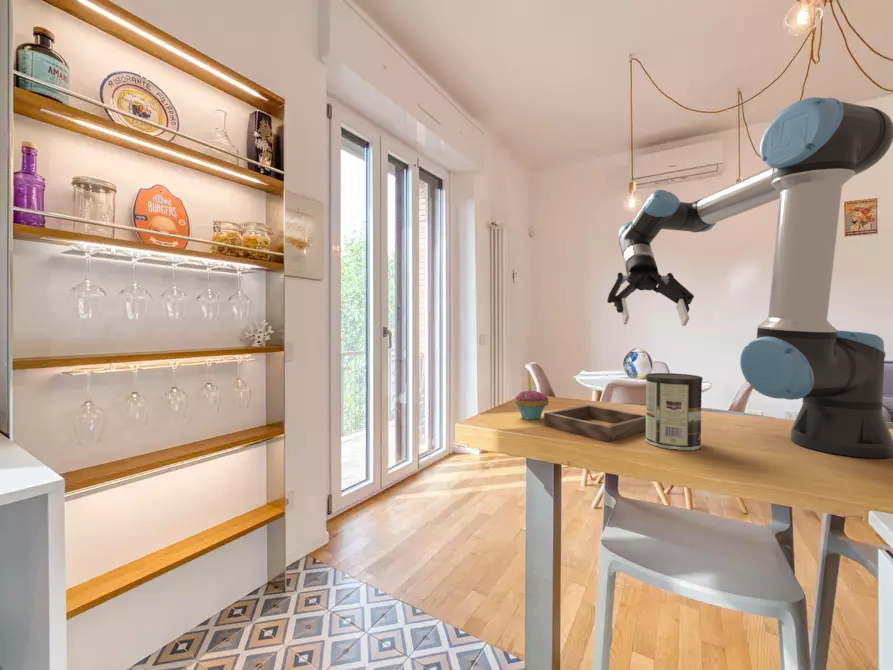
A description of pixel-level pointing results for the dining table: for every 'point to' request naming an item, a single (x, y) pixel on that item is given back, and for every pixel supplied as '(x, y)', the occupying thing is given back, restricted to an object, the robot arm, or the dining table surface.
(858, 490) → the dining table surface
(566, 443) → the dining table surface
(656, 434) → the coffee can
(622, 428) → the dark brown wooden tray
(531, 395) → the cupcake
